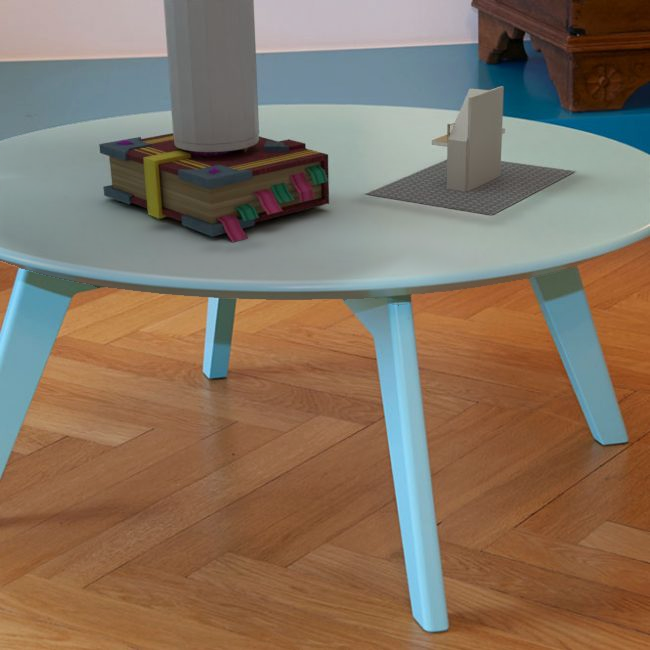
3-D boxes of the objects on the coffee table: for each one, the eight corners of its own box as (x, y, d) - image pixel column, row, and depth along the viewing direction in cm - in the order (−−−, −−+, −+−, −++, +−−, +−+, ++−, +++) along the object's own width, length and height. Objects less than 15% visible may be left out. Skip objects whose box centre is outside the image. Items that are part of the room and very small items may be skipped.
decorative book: (219, 174, 97) (216, 116, 95) (343, 212, 86) (342, 147, 84) (103, 199, 90) (97, 137, 89) (220, 245, 79) (216, 175, 77)
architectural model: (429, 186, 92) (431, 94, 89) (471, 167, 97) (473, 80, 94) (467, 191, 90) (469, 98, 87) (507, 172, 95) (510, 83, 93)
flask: (178, 154, 83) (162, -78, 77) (170, 136, 88) (154, -82, 82) (265, 148, 84) (255, -81, 78) (251, 130, 90) (242, -84, 84)
